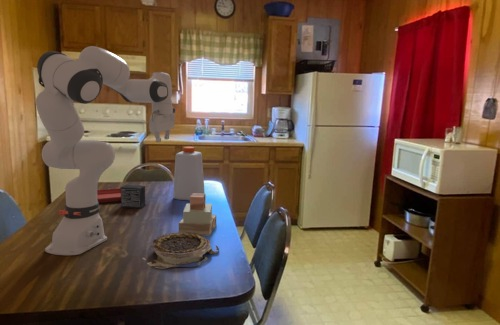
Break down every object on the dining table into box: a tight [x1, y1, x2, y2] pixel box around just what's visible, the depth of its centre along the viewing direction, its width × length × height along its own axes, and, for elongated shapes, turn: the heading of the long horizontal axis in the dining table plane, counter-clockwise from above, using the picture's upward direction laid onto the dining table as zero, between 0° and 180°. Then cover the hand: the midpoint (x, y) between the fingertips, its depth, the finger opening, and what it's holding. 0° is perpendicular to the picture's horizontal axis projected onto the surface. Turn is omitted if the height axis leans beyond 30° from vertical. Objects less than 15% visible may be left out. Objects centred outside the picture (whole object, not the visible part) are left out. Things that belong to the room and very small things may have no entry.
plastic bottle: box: [172, 146, 206, 202], centre depth 199 cm, size 15×15×28 cm
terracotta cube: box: [189, 193, 206, 210], centre depth 154 cm, size 6×6×6 cm
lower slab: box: [178, 214, 217, 237], centre depth 156 cm, size 13×13×5 cm
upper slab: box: [182, 203, 213, 224], centre depth 155 cm, size 11×11×5 cm
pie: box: [141, 231, 220, 269], centre depth 134 cm, size 28×27×5 cm
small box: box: [120, 184, 146, 209], centre depth 183 cm, size 11×6×10 cm, turn 84°
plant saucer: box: [97, 188, 121, 204], centre depth 196 cm, size 18×18×3 cm
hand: (162, 140), depth 164 cm, fingers open, 8 cm apart
